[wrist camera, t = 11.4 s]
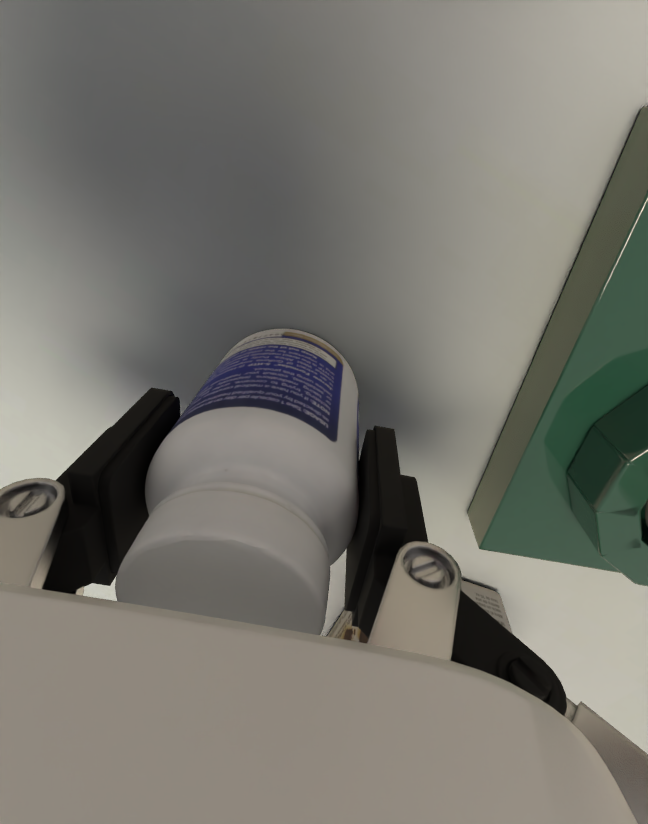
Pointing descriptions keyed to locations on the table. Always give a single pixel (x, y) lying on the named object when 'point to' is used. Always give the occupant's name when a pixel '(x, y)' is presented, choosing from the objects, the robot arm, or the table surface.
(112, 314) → the table surface
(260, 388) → the pill bottle
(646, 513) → the beige short cylinder
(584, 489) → the green push button box
